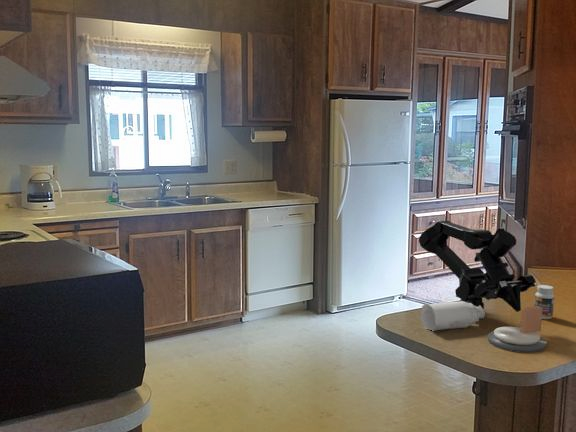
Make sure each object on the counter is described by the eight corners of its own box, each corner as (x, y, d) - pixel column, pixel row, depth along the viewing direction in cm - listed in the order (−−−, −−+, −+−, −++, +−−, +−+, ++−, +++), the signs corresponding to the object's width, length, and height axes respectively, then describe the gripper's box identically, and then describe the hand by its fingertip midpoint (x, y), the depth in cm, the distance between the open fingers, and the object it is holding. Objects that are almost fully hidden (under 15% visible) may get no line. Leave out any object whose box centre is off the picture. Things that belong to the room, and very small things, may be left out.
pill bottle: (532, 318, 194) (534, 287, 193) (534, 313, 200) (536, 283, 198) (552, 320, 192) (554, 289, 190) (553, 316, 197) (555, 285, 196)
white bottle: (489, 329, 184) (490, 303, 182) (433, 335, 178) (434, 308, 177) (473, 321, 191) (474, 296, 190) (419, 326, 185) (420, 300, 184)
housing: (494, 351, 165) (495, 346, 165) (483, 332, 180) (483, 328, 179) (552, 353, 163) (553, 348, 163) (536, 335, 178) (536, 330, 178)
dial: (515, 347, 164) (517, 318, 162) (484, 333, 174) (486, 306, 173) (555, 340, 169) (556, 312, 168) (522, 327, 180) (524, 301, 179)
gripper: (503, 277, 194) (527, 321, 186) (455, 282, 187) (478, 328, 179) (523, 257, 186) (549, 302, 178) (474, 262, 179) (499, 309, 170)
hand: (518, 311), depth 176 cm, fingers closed
